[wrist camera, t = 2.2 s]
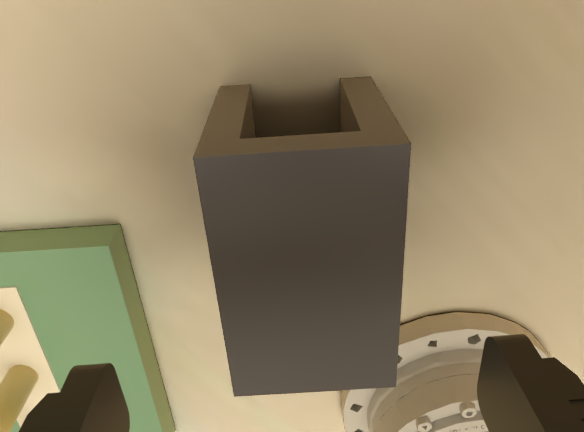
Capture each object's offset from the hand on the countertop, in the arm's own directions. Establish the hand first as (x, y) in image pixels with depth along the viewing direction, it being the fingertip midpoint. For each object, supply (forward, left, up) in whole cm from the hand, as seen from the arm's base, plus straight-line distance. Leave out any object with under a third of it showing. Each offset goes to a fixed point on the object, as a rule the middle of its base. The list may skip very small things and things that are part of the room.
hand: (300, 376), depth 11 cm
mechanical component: (-7, +11, -9) cm, 16 cm away
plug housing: (0, 0, -9) cm, 9 cm away
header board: (+12, +7, -9) cm, 16 cm away
